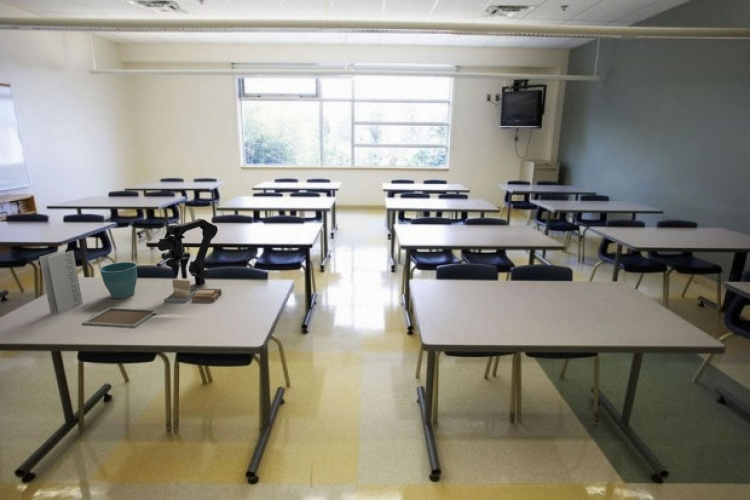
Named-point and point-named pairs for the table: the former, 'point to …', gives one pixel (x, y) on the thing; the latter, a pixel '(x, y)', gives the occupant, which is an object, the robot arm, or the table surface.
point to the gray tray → (181, 299)
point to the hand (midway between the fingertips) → (180, 273)
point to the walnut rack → (207, 299)
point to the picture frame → (120, 317)
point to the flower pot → (120, 278)
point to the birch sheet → (181, 287)
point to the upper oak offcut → (204, 293)
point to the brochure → (61, 281)
